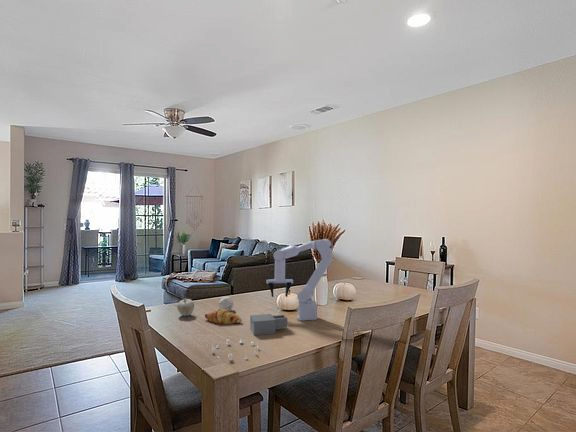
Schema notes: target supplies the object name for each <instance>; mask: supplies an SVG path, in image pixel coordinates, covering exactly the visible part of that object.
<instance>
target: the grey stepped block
mask: <svg viewBox="0 0 576 432" xmlns="http://www.w3.org/2000/svg"><path fill="white" fill-rule="evenodd" d="M249 319H250V320H249V324H250V325H249V326H250V330H251V332H252V334H253V336H261V335H272V334H275V335H276V334H277V332H276V329H287V328H288V317H287V316H286V315H285V314H277V315H276V314H275V315H273V314H272V313H264V314H262V313H261V314H253V315H252V314H251V315H249Z"/></svg>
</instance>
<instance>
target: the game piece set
mask: <svg viewBox="0 0 576 432" xmlns="http://www.w3.org/2000/svg"><path fill="white" fill-rule="evenodd" d="M230 342H231V340H230V339H226V345H227V346H230ZM239 344H244V339H243V337H241V338H240V339H239ZM256 344H257V346H255V342H254V341H253V340H252V341H250V344H249V345H250V346H251V347H252V346H254V347H253V349H254V352H253V353H252V356H258V355H259V353H258V352H257V350H258V351H259V349H260V347H259V341H256ZM216 349H220V346H219V345H218V343H217V344H216V346H214V345H213V346H211V349H210V350H211V354H214V353H215V350H216ZM244 350H245V349H244ZM245 352H247V349H246V350H245ZM215 357H216V359H218V360H219V359H220V356H218V355H217V354H215ZM227 357H228V361H230V362H231V361H232V359H233V354H232V353H229V354H228V355H227ZM248 358H249V357H248V356H245V357H244V360H245V361H246V360H249V359H248Z"/></svg>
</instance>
